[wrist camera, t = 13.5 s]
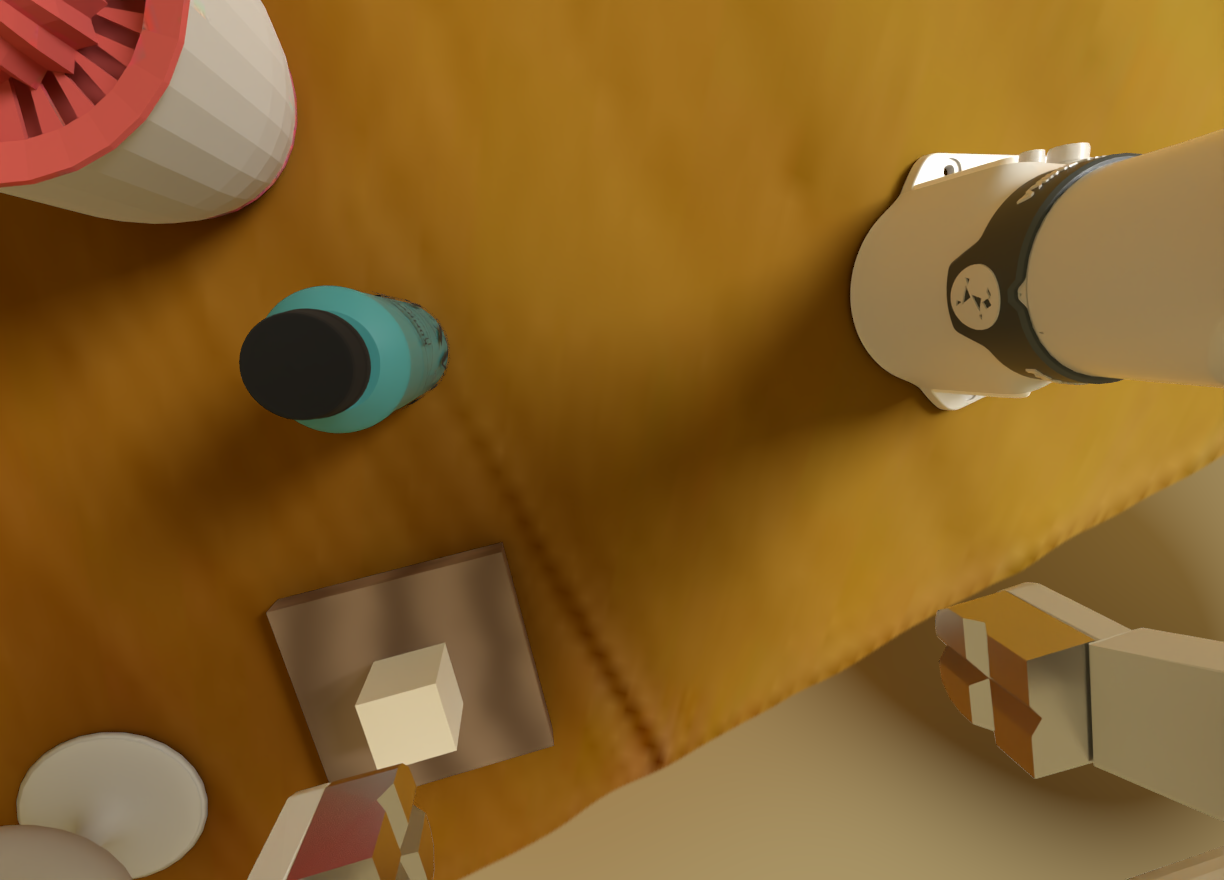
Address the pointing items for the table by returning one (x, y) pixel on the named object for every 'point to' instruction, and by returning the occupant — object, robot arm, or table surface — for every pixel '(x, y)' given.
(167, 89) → the citrus juicer
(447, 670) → the off-white cube
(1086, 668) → the robot arm
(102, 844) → the chalice
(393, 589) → the walnut base
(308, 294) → the beverage bottle
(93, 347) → the table surface
